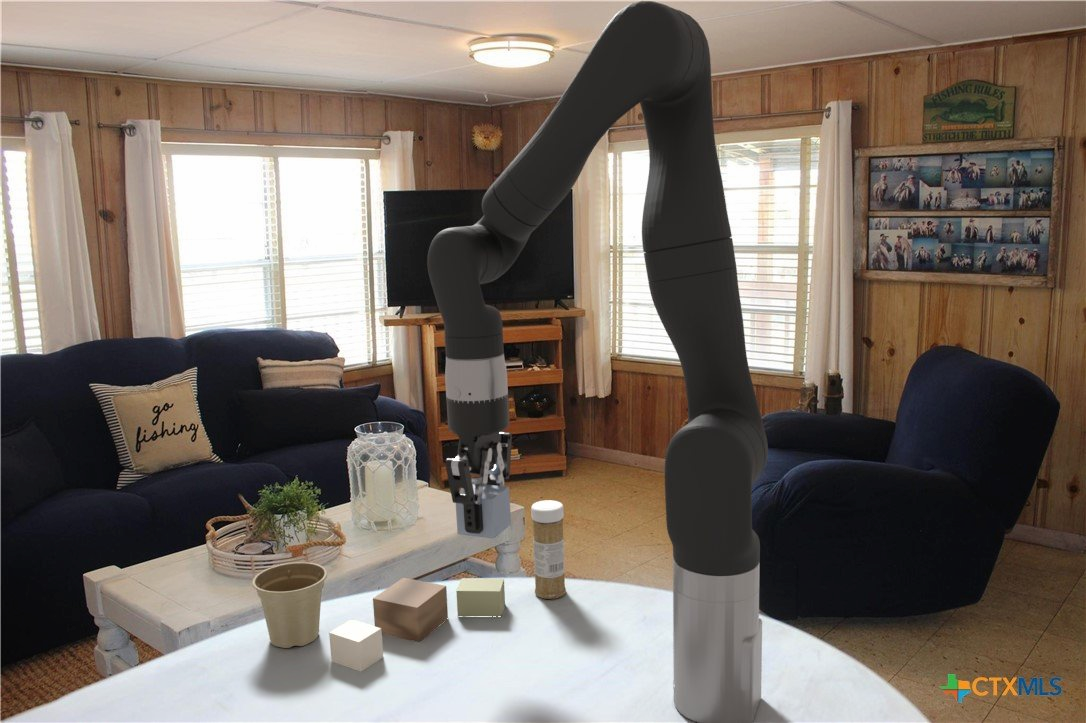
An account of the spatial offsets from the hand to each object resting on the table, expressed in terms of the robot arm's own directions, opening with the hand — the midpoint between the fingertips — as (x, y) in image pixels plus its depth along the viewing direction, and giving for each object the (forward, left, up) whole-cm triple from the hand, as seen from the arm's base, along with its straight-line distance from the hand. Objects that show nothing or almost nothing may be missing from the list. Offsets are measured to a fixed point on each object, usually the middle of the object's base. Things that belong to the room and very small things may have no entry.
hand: (484, 523), depth 112 cm
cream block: (+14, +9, -16) cm, 23 cm away
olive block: (+5, -8, -16) cm, 19 cm away
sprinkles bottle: (-2, -16, -16) cm, 23 cm away
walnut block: (+12, -1, -16) cm, 20 cm away
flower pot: (+25, +7, -16) cm, 31 cm away
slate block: (0, 0, -1) cm, 1 cm away
